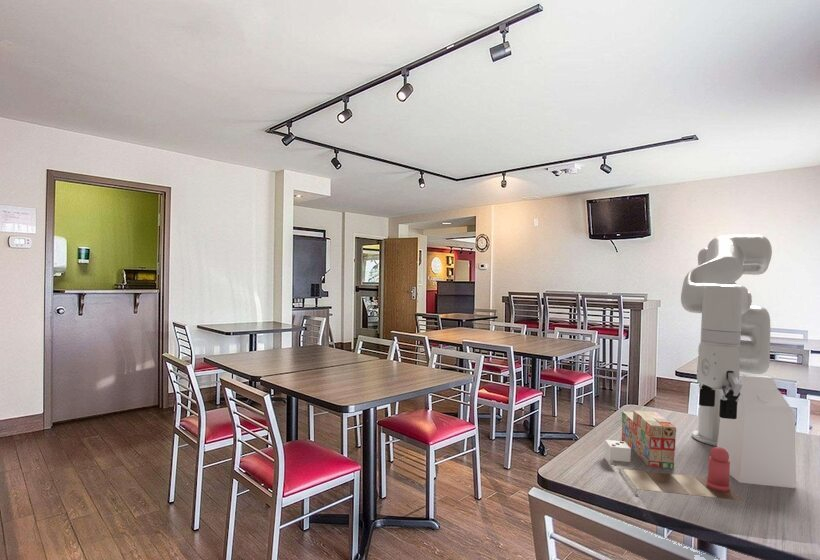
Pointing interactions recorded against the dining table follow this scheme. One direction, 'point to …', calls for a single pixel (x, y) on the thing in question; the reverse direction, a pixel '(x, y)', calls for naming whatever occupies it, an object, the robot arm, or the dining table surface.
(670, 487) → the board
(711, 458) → the pawn
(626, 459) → the die
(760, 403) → the milk
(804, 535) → the dining table surface
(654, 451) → the stack of blocks
